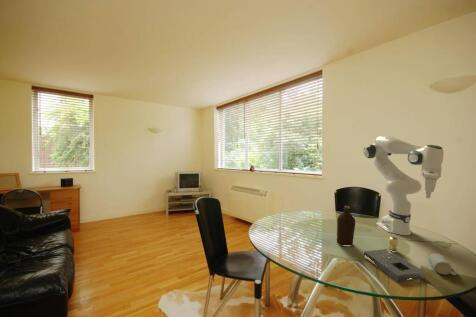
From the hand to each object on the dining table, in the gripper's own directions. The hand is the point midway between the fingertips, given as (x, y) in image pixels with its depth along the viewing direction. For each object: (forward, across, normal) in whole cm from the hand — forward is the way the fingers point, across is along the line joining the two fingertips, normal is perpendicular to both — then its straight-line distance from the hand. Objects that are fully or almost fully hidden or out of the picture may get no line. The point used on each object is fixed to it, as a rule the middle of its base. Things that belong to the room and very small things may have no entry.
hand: (427, 196), depth 131 cm
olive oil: (+36, +18, -39) cm, 56 cm away
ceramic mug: (+35, +17, +9) cm, 40 cm away
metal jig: (+35, +30, -12) cm, 48 cm away
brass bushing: (+35, +9, -13) cm, 39 cm away
